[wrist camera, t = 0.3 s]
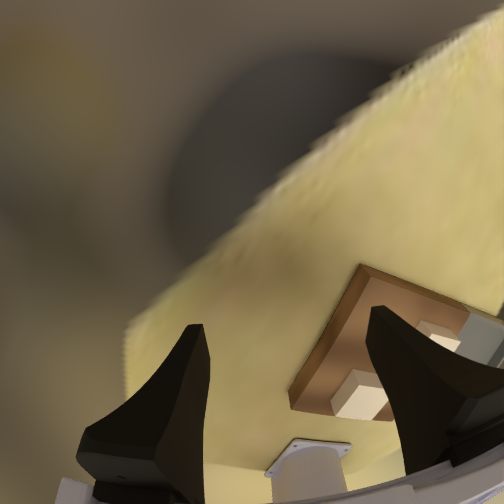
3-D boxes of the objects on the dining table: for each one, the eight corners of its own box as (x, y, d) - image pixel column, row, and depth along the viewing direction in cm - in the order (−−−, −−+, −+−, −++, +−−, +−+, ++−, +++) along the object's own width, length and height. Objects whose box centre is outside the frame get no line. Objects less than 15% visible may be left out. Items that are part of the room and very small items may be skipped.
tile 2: (365, 405, 26) (371, 420, 24) (330, 400, 25) (334, 416, 23) (388, 375, 24) (396, 390, 23) (352, 369, 24) (359, 385, 22)
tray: (449, 410, 31) (455, 420, 29) (386, 406, 29) (392, 419, 27) (512, 323, 26) (521, 332, 25) (459, 302, 25) (470, 312, 23)
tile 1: (426, 364, 24) (435, 377, 22) (396, 358, 24) (404, 372, 22) (450, 329, 23) (460, 341, 21) (420, 320, 22) (431, 333, 21)
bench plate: (385, 406, 29) (391, 421, 27) (288, 391, 28) (290, 409, 25) (457, 301, 25) (470, 313, 23) (360, 263, 23) (371, 276, 21)
